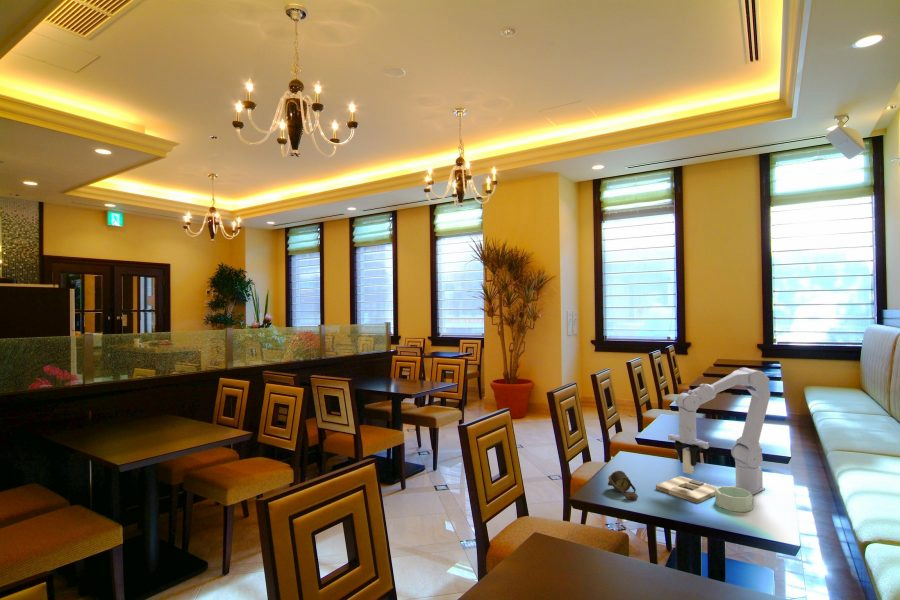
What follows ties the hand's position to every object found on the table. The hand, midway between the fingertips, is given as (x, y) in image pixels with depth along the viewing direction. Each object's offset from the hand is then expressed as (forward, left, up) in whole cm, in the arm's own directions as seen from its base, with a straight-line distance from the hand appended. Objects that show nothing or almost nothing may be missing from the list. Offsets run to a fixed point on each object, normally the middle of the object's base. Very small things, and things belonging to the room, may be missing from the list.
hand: (688, 463), depth 185 cm
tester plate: (0, 0, -10) cm, 10 cm away
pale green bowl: (0, +16, -10) cm, 19 cm away
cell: (0, 0, -3) cm, 3 cm away
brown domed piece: (+21, -13, -10) cm, 27 cm away
